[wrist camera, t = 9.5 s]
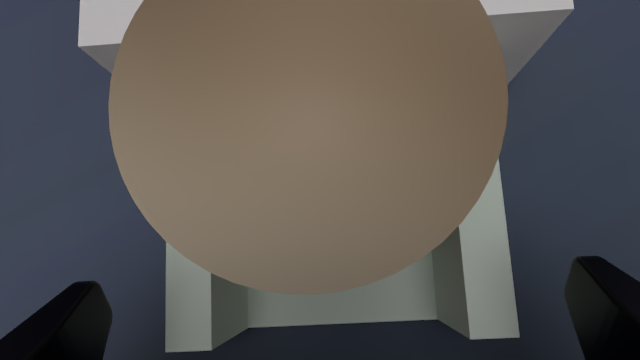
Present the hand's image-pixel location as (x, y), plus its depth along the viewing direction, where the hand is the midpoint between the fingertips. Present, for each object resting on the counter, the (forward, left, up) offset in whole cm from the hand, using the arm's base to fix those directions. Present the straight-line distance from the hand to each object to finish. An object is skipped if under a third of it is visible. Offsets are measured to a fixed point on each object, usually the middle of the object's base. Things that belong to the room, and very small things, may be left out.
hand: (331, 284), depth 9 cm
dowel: (+2, +2, -8) cm, 8 cm away
